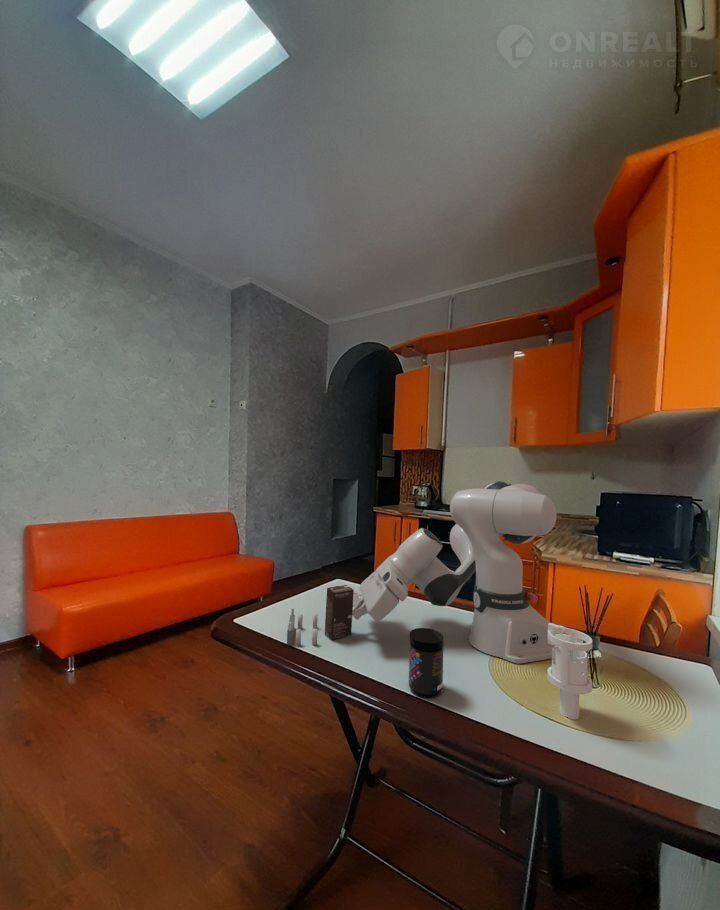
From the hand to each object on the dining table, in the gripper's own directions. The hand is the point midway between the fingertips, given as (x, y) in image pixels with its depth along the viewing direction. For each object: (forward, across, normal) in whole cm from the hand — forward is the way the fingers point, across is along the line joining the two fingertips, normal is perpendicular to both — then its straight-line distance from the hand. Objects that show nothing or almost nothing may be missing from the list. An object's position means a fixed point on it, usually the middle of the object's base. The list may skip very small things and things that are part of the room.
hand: (354, 615), depth 94 cm
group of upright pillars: (+13, 0, -6) cm, 14 cm away
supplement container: (-5, +24, +12) cm, 27 cm away
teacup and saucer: (+1, -23, +7) cm, 24 cm away
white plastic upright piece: (-22, +33, +29) cm, 49 cm away
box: (+6, 0, +1) cm, 6 cm away
